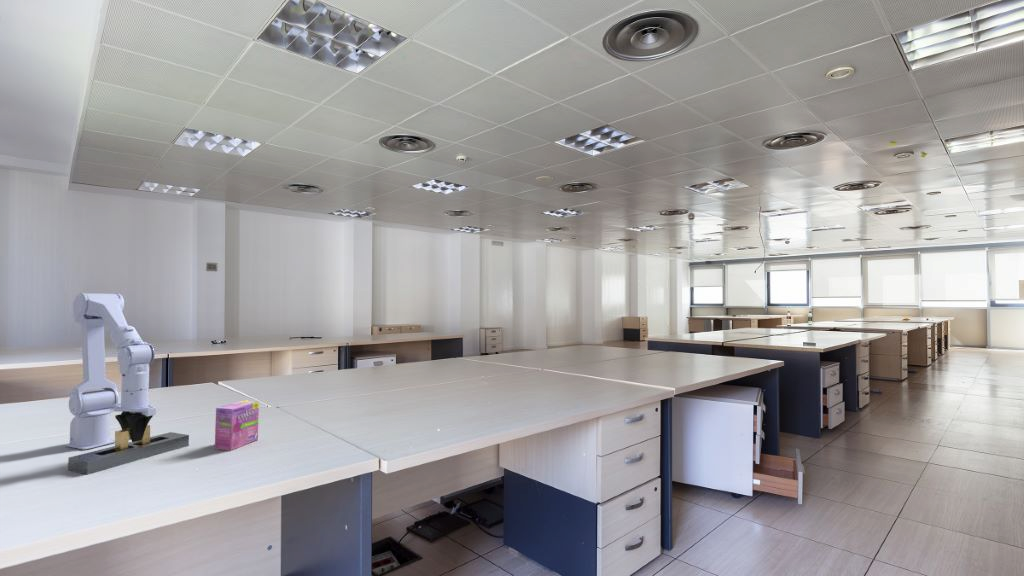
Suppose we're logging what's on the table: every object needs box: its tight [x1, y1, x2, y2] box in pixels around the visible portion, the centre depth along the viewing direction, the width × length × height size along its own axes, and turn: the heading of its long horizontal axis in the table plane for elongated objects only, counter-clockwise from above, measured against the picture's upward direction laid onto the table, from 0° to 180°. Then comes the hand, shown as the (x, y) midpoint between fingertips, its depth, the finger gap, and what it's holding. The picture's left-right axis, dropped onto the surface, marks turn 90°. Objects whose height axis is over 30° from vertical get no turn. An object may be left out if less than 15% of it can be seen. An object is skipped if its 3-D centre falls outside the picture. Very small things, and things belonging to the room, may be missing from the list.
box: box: [214, 399, 260, 452], centre depth 134 cm, size 10×6×12 cm, turn 168°
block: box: [67, 431, 190, 475], centre depth 123 cm, size 8×24×3 cm, turn 159°
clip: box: [114, 424, 151, 452], centre depth 123 cm, size 2×7×6 cm, turn 159°
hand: (133, 440), depth 123 cm, fingers closed on clip, 2 cm apart
